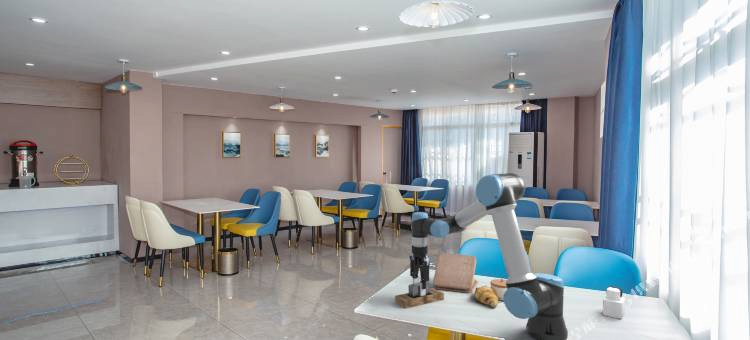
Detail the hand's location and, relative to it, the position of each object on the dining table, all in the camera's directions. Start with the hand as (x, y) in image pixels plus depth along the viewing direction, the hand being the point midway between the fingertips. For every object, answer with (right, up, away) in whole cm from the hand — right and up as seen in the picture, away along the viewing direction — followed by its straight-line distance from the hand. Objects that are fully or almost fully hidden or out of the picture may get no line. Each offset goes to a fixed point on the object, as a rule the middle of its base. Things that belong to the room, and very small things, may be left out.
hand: (419, 293), depth 208 cm
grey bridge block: (0, -3, 0) cm, 3 cm away
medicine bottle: (+82, -4, -18) cm, 84 cm away
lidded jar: (+40, -3, +3) cm, 40 cm away
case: (+22, -3, +23) cm, 32 cm away
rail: (0, -4, 0) cm, 4 cm away
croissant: (+31, -3, -1) cm, 31 cm away
